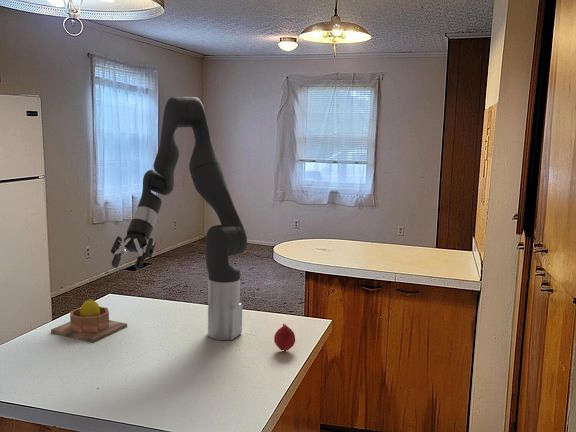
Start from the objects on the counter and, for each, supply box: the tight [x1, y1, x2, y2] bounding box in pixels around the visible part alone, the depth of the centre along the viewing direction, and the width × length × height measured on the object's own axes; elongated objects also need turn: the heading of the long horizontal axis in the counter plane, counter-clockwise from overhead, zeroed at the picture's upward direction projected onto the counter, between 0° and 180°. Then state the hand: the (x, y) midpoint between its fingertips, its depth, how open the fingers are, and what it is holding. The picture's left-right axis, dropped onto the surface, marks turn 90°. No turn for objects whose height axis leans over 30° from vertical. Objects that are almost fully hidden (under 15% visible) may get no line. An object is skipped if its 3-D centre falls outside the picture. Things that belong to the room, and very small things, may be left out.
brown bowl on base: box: [50, 306, 128, 343], centre depth 156 cm, size 16×14×6 cm
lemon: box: [80, 298, 100, 317], centre depth 156 cm, size 6×6×8 cm
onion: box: [273, 323, 296, 352], centre depth 145 cm, size 6×6×8 cm
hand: (125, 267), depth 165 cm, fingers open, 8 cm apart
